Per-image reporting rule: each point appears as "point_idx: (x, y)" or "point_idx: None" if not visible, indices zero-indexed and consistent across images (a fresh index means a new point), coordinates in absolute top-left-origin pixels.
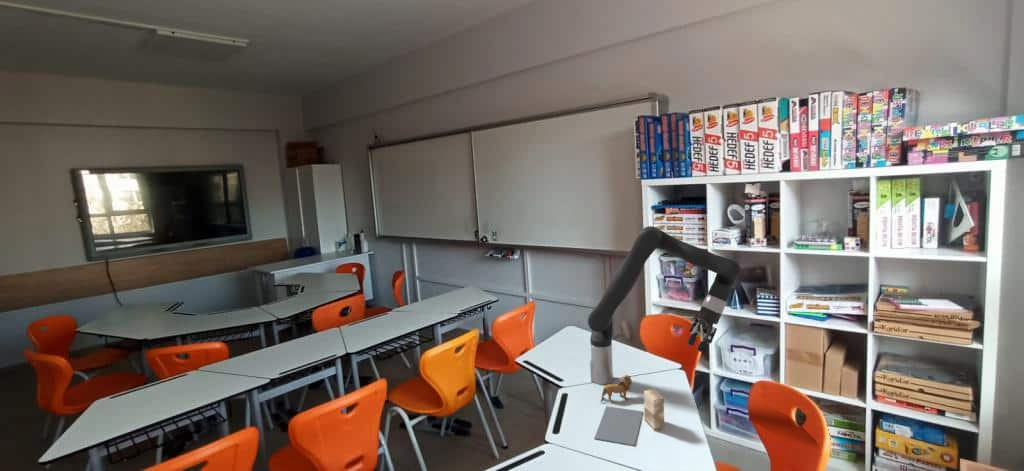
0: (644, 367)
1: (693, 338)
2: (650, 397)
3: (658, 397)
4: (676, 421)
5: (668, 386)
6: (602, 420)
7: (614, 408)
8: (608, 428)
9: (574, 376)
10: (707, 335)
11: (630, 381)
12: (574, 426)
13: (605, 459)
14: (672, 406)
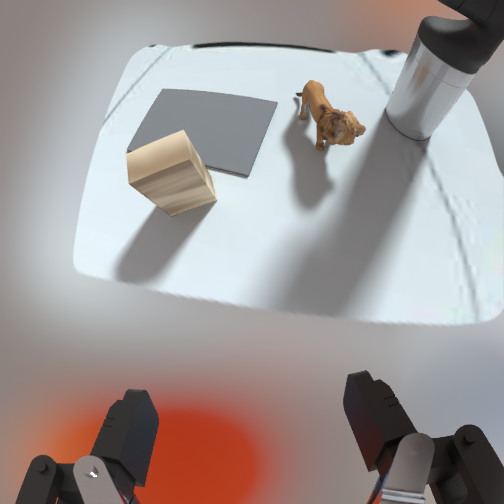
0: (483, 237)
1: (367, 439)
2: (144, 146)
3: (135, 168)
4: (198, 255)
5: (394, 282)
6: (217, 94)
7: (265, 116)
8: (186, 105)
9: None
10: (18, 497)
11: (336, 133)
12: (208, 61)
13: (112, 111)
14: (276, 264)
